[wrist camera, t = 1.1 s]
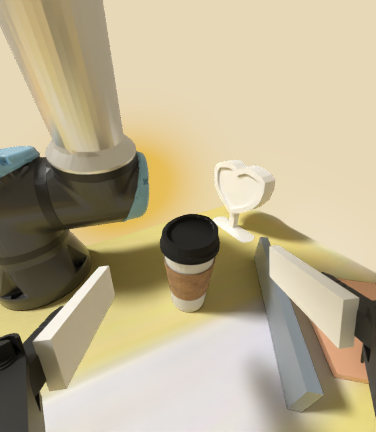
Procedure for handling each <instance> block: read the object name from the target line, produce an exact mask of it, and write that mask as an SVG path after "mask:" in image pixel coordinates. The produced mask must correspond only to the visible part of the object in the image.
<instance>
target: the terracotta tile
mask: <svg viewBox="0 0 376 432" xmlns="http://www.w3.org/2000/svg"><path fill="white" fill-rule="evenodd" d="M338 280H340V281H341V282H343V283H345V284H346V285H347V286H350V287H351V288H353V289H354V290H356V291H358V292H359V293H361V294H362V295H364V296H366V297H367V298H369V299H370V300H376V284H375V283H367V282H360V281H352V280H345V279H338ZM309 319H310V318H309ZM310 321H311V324H312V326H313V328H314V331H315V333H316V336H317V338H318V340H319V343H320V345H321V348H322V350H323V352H324V355H325V357H326V359H327V362H328V364H329V367H330V369H331V371H332V374H333V376H334V377H336V378H341V379H346V380H351V381H356V382H361V383H367V384H369V381H368V377H367V372H366V367H365V362H364V364H363V363H361V362H360V361H361V353H362V346H363V343H362V342H361V341H360V340H359V339H358V338H356V337H355V340H354V347H349V348H342V349H338V348H337V347H336V346H335V345H334V344H333V342H332V341H331V340H330V339H329V338H328V337H327V336H326V335H325V334H324V333H323V332H322V331H321V330H320V329H319V328H318V327H317V326H316V325H315V324H314V323H313V321H312V320H311V319H310Z"/></svg>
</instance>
